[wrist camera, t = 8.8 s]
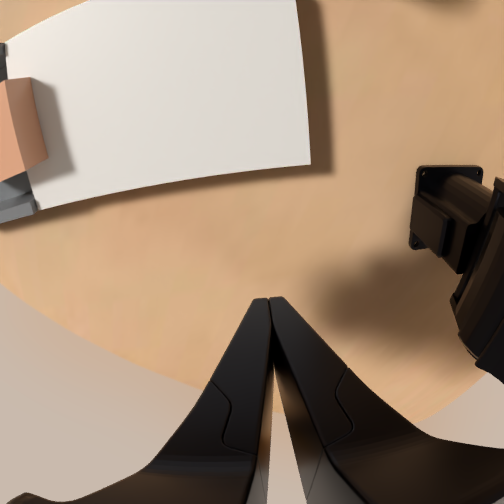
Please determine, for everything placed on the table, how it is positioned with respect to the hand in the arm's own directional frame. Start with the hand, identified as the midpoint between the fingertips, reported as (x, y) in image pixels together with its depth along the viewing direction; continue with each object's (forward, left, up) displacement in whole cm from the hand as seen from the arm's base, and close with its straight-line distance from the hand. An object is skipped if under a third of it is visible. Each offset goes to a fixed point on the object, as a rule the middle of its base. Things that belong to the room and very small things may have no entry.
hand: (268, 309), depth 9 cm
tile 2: (+13, -7, -9) cm, 17 cm away
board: (+5, -7, -12) cm, 14 cm away
